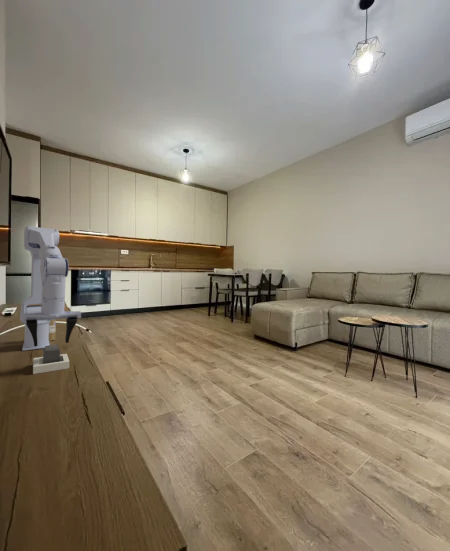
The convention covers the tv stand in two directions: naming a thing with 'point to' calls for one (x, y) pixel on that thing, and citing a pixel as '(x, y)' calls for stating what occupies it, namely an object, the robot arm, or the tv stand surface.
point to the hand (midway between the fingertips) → (51, 343)
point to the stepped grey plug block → (51, 354)
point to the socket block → (50, 364)
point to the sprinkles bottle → (52, 330)
